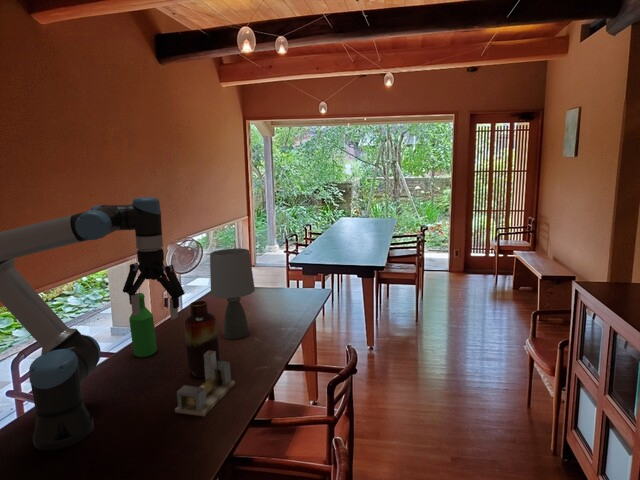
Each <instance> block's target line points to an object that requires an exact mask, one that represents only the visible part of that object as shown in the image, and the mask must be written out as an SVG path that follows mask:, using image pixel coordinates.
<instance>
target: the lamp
mask: <svg viewBox="0 0 640 480" xmlns="http://www.w3.org/2000/svg"><path fill="white" fill-rule="evenodd" d="M251 259H252V258H251V254H250V250H249V249H247V248H241V247H240V248H239V247H238V248H237V247H236V248H235V247H234V248H224V249H219V250H214V251H211V252H210V253H209V270H210V271H209V273H210V275H209V276H210V295H211V296H212V297H214V298H217V299H226V302H227V304H226V309H225V312H224V317H223V318H224V320H223V338H225V339H227V340H241V339H244V338H246V337H248V336H249V335H250V328H249V323H248V319H247V315H246V312H245V309H244V307H243V305H242V303H241V302H240V301H241V299H242V298H241V297H246V296H248V295H251V294H253V293H254V292H255V291H256V288H255V282H254V275H253V269H252V268H253V267H252V262H251Z"/></svg>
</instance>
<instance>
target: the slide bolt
mask: <svg viewBox="0 0 640 480" xmlns="http://www.w3.org/2000/svg"><path fill="white" fill-rule="evenodd" d="M204 364H205V374H206V380H205V381H204V382H202V383H201V384H200V385H199V386H198V387H203V388H205V390H206V395H207V394H208V393H209V392H210V391H211V390H212V389H215V388H216V387H217V386H218V384H219V383H220V382H221V381H222V376H221V371H217V363H216V352H215V351H207V352H206V353H205V354H204ZM184 403H185V406H186V407H187V408H189V409H193V408H194V407H195V406H196V402H195V397H191V396H188V397H187V398H186V399H185V401H184Z"/></svg>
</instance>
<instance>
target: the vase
mask: <svg viewBox="0 0 640 480" xmlns="http://www.w3.org/2000/svg"><path fill="white" fill-rule="evenodd" d="M189 310H190V314H189V315H187V316H186V318H185V319H184V321H183V325H184V326H183V327H184V335H185V336H184V337H185V346H186V347H185V348H186V354H187V355H186V357H187V364H188V369H189V371H191V374H192V377H194V378H197V379H205V370H204V365H205V364H204V354H205V353H206V352H207V351H215V352H216V361H221V360H220V359H221V358H220V347H219V346H220V345H219V338H218V326H217V318H216V316H215V315H214V314H213V313H212V312H209V311H208V302H207V301H204V300H197V301H193V302H190V304H189Z"/></svg>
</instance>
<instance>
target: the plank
mask: <svg viewBox="0 0 640 480" xmlns="http://www.w3.org/2000/svg"><path fill="white" fill-rule="evenodd" d="M235 385H236V382H235V380H231V381H230V382H229V383H228V384H227V385H226V386H222V381H221V382H220V383H219V384H218V386H217V387H216V388H215V389H212V390H211V391H210V392H209V393H208V394H207V395H206V401H207V406H206V407H205V408H204V409H203V410H202V411H201V412H196V406H195V407H194V408H193V409H189V408H187V407H185V408H183V409H182V410H179V409H178V406H177V407H175V408H174V414H175V413H176V414H184V415H191V416H199V417H205V416H206V415H207V414H209V412H210V411H211V410H212V409H213V408H214V407H215V406H216V405H217V404H218V403H219V402H220V400H222V398H223V397H224V396H225V395H226V394H227V393H229V391H230V390H231V389H232V388H233V387H234V386H235Z"/></svg>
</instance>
